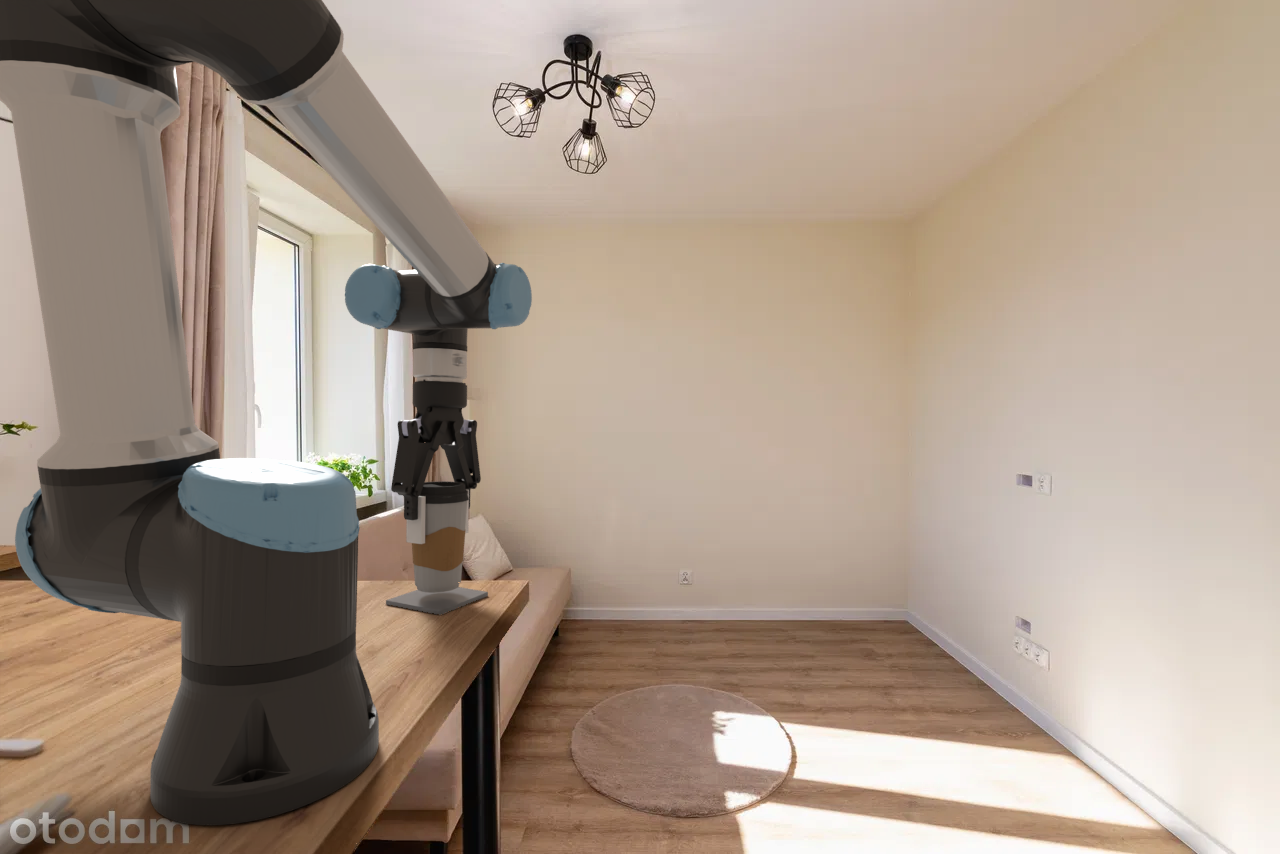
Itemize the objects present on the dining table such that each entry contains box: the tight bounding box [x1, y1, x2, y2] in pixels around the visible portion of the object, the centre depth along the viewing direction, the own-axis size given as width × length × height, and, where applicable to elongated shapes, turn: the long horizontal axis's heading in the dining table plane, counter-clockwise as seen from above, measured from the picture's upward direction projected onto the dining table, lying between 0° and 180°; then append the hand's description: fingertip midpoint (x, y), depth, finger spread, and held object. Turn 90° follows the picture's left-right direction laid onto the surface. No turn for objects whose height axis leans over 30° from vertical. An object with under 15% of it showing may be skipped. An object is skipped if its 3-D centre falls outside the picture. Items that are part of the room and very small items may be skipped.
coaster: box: [385, 586, 489, 616], centre depth 91 cm, size 10×10×1 cm
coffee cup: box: [411, 480, 469, 593], centre depth 91 cm, size 8×8×15 cm
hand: (438, 536), depth 91 cm, fingers closed on coffee cup, 8 cm apart
